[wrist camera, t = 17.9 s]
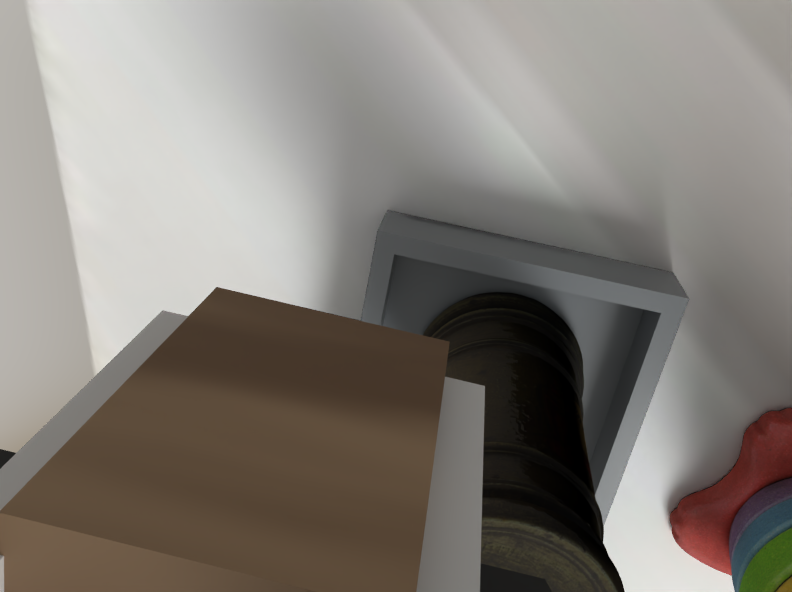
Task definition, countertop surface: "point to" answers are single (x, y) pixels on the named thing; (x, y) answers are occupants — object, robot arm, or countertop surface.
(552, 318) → the container
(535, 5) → the countertop surface
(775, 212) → the countertop surface
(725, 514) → the stacking bear
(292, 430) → the walnut block
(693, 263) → the countertop surface
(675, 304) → the tray
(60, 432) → the robot arm
